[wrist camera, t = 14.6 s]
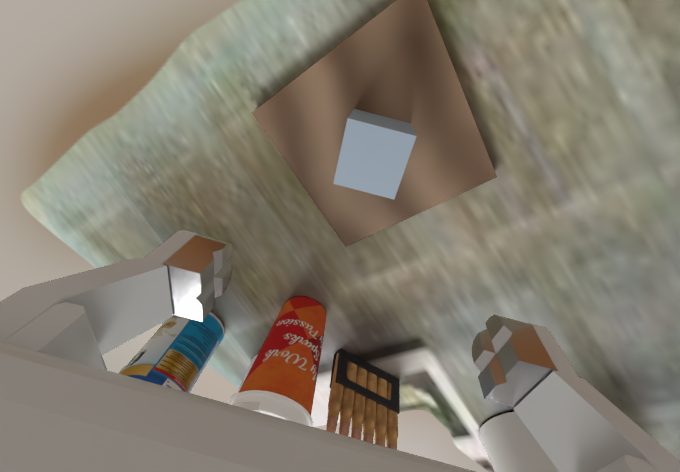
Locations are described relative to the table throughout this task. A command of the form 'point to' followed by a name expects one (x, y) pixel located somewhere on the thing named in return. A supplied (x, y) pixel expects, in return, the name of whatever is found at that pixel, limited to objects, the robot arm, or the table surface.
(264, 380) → the coffee cup
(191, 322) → the beverage bottle
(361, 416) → the ammunition clip
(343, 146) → the slate cube
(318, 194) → the brown rippled cloth
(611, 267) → the table surface
